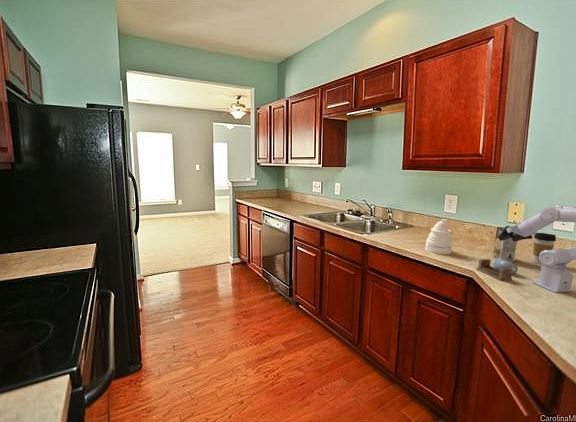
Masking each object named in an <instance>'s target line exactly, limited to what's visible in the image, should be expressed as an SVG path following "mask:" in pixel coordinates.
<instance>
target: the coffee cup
mask: <svg viewBox="0 0 576 422" xmlns="http://www.w3.org/2000/svg"><path fill="white" fill-rule="evenodd" d="M556 237H557V235H556V234H553V233H551V234H550V233H547V232H546V233H545V232H537V233H536V234H534V235H533V238H534V241H533V256H532V262H533V263H534V264H535V263H536V264H537V265H542V262H541V261H540V259H539V254H540V253H541V252H542V251H544V250H554V246H555V242H556V241H557V238H556Z"/></svg>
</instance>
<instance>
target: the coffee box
mask: <svg viewBox="0 0 576 422" xmlns="http://www.w3.org/2000/svg"><path fill="white" fill-rule="evenodd" d="M505 227H506V226H505ZM505 227H504V226H502V227H501V226H497V227H496V233H495V239H494V245H493V253H492V256H493V257H494V258H496V259H497V258H500V259H503V260H505V261H508V262H510V263H514V261H515V255H516V250H517V244H518V241H515V242H513V240H512V238H508V239H505V240H502V241H500V240H499V238H498V236H499V235H500V234H501V233H502V232H503V231H504V228H505ZM515 234H516V233H514V234H513V235H515Z"/></svg>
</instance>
